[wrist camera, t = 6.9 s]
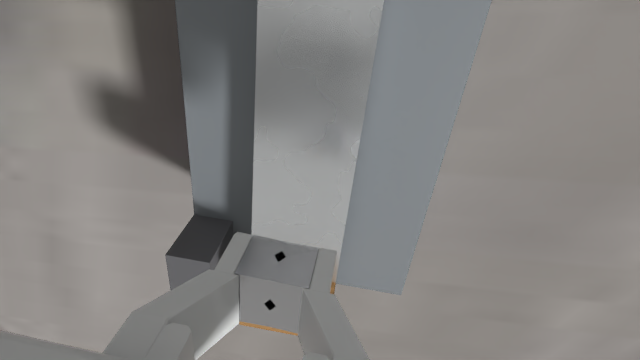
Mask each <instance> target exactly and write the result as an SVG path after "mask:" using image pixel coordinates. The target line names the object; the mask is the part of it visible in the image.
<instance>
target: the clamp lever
mask: <svg viewBox="0 0 640 360" xmlns="http://www.w3.org/2000/svg"><path fill="white" fill-rule="evenodd" d="M383 4H384V0H258V3H257V41H256V79H255V118H254V156H253V194H252V233H251V235H257V236H261V237H266V238H271V239H275V240H280V241H285V242H290V243H296V244H301V245H306V246H312V247H317V248H324V249H330V250H336V251H337V256H336V261H335V267H334V273H333V279H332V285H331V290H330V294H334V290H335V283H336V278H337V272H338V266H339V260H340V254H341V248H342V243H343V237H344V231H345V225H346V219H347V214H348V208H349V202H350V196H351V190H352V184H353V179H354V173H355V167H356V161H357V155H358V149H359V144H360V138H361V132H362V126H363V120H364V114H365V109H366V103H367V97H368V91H369V85H370V80H371V74H372V68H373V62H374V56H375V50H376V45H377V39H378V33H379V27H380V21H381V15H382V10H383ZM239 324H240V325H245V326H250V327H255V328H260V329H266V330H271V331H276V332H281V333H286V334H292V335H297V336H298V334H297V333H293V332H289V331H285V330H280V329H276V328H272V327H268V326H262V325H257V324H251V323H246V322H240V321H239Z"/></svg>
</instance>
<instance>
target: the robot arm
mask: <svg viewBox="0 0 640 360" xmlns="http://www.w3.org/2000/svg"><path fill="white" fill-rule="evenodd" d="M336 256H337V251H336V250H330V249H324V248H317V247H312V246H306V245H301V244H296V243H290V242H285V241H280V240H275V239H271V238H266V237H261V236H257V235H250V234H246V233H241V232H236V233H235V234H234V235H233V237H232V239H231V241H230V242H229V244H228V246H227V248H226V250H225V251H224V253H223V255H222V257H221V259H220V260H219V262H218V264H217V266H216V267H215V269H214V270H210V269H209V270H207V271H205V272H203V273H201V274H200V275H198V276H196V277H194V278H192V279H191V280H189V281H187V282H185V283H183V284H182V285H180V286H178V287H176V288H174V289H173V290H171V291H169V292H167V293H165V294H164V295H162V296H160V297H158V298H156V299H155V300H153V301H151V302H149V303H147V304H146V305H144V306H142V307H140V308H138V309H137V310H135V311H133V312H132V313H131V314H130V316H129V317H128V318H127V320H126V321H125V323H124V324H123V325H122V327H121V328H120V329H119V331H118V332H117V334H116V335H115V336H114V338H113V339H112V341H111V342H110V343H109V345H108V346H107V348H106V349H105V350H104V352H103V353H99V352H95V351H90V350H86V349H82V348H77V347H73V346H68V345H64V344H59V343H55V342H51V341H46V340H42V339H37V338H33V337H28V336H24V335H20V334H15V333H11V332H6V331H2V330H0V360H196V359H198V358H199V357H200V356H201V355H202V354H203V353H205V352H206V351H207V350H208V349H209V348H211V347H212V346H213V345H214V344H215V343H216V342H218V341H219V340H220V339H221V338H222V337H223V336H225V335H226V334H227V333H228V332H229V331H231V330H232V329H233V328H234V327H235V326H236V325H238V324H239V321H240V322H246V323H251V324H257V325H262V326H268V327H272V328H276V329H280V330H285V331H289V332H293V333H297V334H298V337H299V340H300V343H301V346H302V349H303V352H304V356H303V359H302V360H370V359H369V357H368V355H367V354H366V352H365V350H364V348H363V346H362V344H361V342H360V341H359V339H358V337H357V335H356V333H355V331H354V330H353V328H352V326H351V324H350V322H349V320H348V318H347V317H346V315H345V313H344V311H343V309H342V307H341V306H340V304H339V302H338V300H337V298H336V296H335V295H334V294H330V290H331V285H332V279H333V273H334V267H335V261H336Z"/></svg>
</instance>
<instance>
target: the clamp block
mask: <svg viewBox="0 0 640 360" xmlns="http://www.w3.org/2000/svg"><path fill="white" fill-rule="evenodd" d="M491 1H492V0H384V4H383V10H382V15H381V21H380V27H379V33H378V39H377V45H376V50H375V56H374V62H373V68H372V74H371V80H370V85H369V91H368V97H367V103H366V109H365V114H364V120H363V126H362V132H361V138H360V144H359V149H358V155H357V161H356V167H355V173H354V179H353V184H352V190H351V196H350V202H349V208H348V214H347V219H346V225H345V231H344V237H343V243H342V248H341V254H340V260H339V266H338V272H337V278H336V284H342V285H347V286H353V287H358V288H364V289H369V290H375V291H380V292H386V293H391V294H397V295H401V293H402V290H403V287H404V284H405V280H406V277H407V274H408V271H409V267H410V264H411V261H412V258H413V254H414V251H415V248H416V245H417V241H418V238H419V235H420V232H421V228H422V225H423V222H424V219H425V215H426V212H427V209H428V206H429V202H430V199H431V196H432V193H433V189H434V186H435V183H436V180H437V176H438V173H439V170H440V167H441V163H442V160H443V157H444V154H445V151H446V147H447V144H448V141H449V138H450V134H451V131H452V128H453V125H454V121H455V118H456V115H457V112H458V108H459V105H460V102H461V99H462V95H463V92H464V89H465V86H466V82H467V79H468V76H469V73H470V69H471V66H472V63H473V60H474V56H475V53H476V50H477V47H478V43H479V40H480V37H481V34H482V30H483V27H484V24H485V21H486V17H487V14H488V11H489V8H490V4H491ZM257 3H258V0H175V6H176V17H177V28H178V40H179V51H180V62H181V73H182V84H183V95H184V106H185V117H186V128H187V139H188V150H189V161H190V172H191V183H192V194H193V205H194V216H193V217H192V218H191V220H190V221H189V223H188V224H187V225H186V227H185V228H184V230H183V231H182V232H181V234H180V235H179V237H178V238H177V239H176V241H175V242H174V244H173V245H172V246H171V248H170V249H169V251H168V252H167V253H166V255H165V256H166V262H167V269H168V276H169V282H170V289H171V290H173V289H174V288H176V287H178V286H180V285H182V284H183V283H185V282H187V281H189V280H191V279H192V278H194V277H196V276H198V275H200V274H201V273H203V272H205V271H207V270H209V269H210V270H214V269H215V267H216V266H217V264H218V262H219V260H220V259H221V257H222V255H223V253H224V251H225V250H226V248H227V246H228V244H229V242H230V241H231V239H232V237H233V235H234V234H235V233H236V232H241V233H246V234H250V235H251V233H252V194H253V156H254V118H255V79H256V41H257Z"/></svg>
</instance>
